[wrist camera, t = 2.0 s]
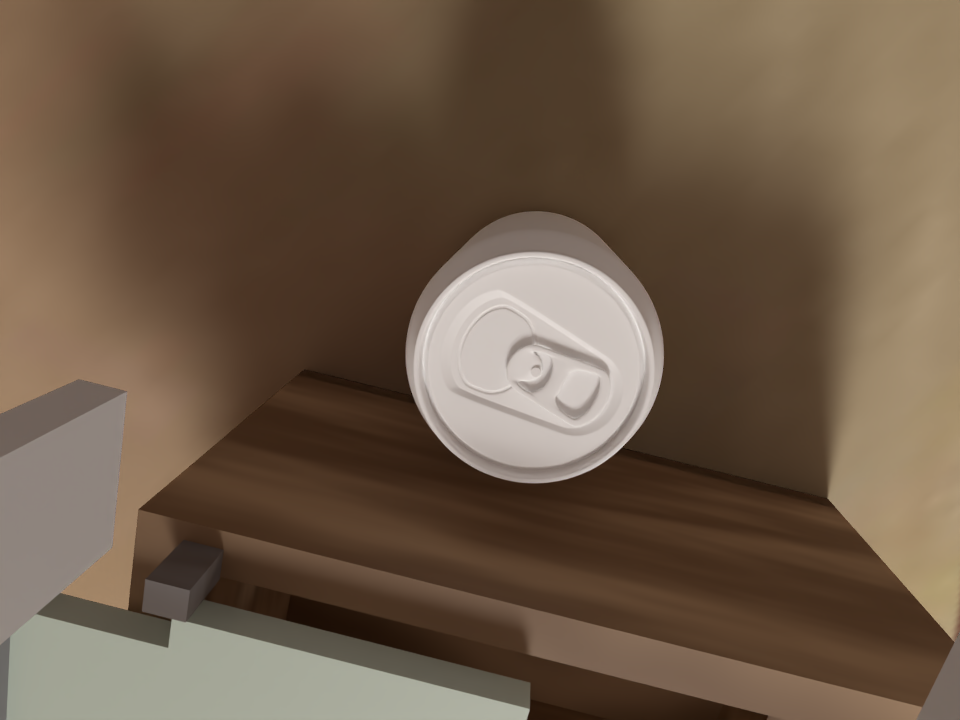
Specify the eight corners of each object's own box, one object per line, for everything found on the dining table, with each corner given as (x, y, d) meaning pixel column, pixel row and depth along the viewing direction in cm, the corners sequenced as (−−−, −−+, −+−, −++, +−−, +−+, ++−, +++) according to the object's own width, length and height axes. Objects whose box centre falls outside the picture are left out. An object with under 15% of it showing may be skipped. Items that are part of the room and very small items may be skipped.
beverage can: (495, 178, 31) (468, 182, 19) (656, 260, 31) (727, 313, 19) (419, 337, 33) (354, 426, 21) (571, 411, 33) (588, 540, 22)
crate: (304, 369, 34) (95, 545, 18) (827, 498, 33) (1092, 798, 17) (259, 640, 38) (58, 976, 22) (721, 758, 38) (854, 1187, 22)
